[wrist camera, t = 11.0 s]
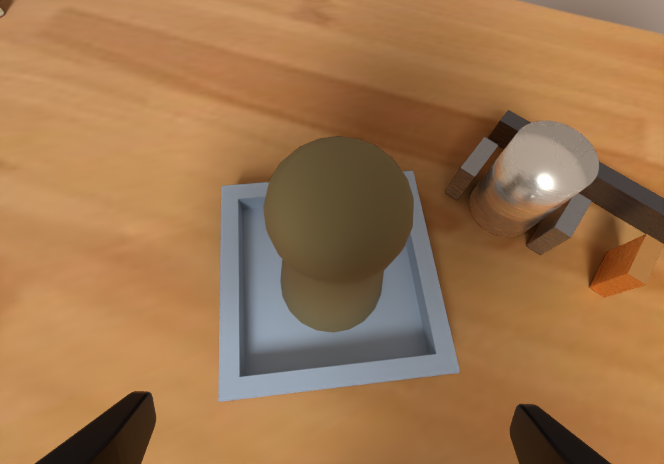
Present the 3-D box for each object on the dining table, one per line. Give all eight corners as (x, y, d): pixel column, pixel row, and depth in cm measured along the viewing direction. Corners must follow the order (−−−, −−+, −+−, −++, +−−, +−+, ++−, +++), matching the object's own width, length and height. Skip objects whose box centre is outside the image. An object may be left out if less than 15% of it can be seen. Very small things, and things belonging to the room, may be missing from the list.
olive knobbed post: (319, 216, 23) (318, 80, 12) (401, 268, 21) (472, 165, 11) (259, 292, 21) (199, 205, 10) (345, 354, 19) (373, 324, 9)
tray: (447, 373, 20) (460, 372, 18) (228, 399, 19) (218, 401, 17) (406, 186, 24) (413, 170, 22) (229, 201, 24) (221, 185, 22)
